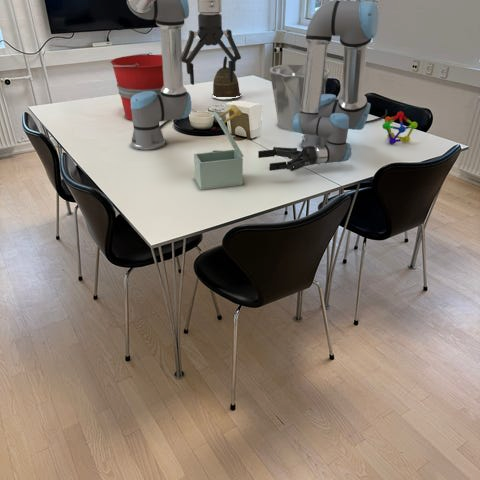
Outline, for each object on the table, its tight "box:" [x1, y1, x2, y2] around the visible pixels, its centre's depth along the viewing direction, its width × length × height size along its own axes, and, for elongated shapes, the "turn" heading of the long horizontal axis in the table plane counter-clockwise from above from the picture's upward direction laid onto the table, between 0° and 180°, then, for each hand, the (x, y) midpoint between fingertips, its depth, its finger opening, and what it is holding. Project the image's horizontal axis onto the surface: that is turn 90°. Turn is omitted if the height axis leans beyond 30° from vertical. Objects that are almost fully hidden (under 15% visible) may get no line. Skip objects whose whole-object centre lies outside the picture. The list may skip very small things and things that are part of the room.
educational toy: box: [382, 110, 418, 145], centre depth 207 cm, size 16×13×15 cm
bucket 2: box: [269, 63, 330, 131], centre depth 226 cm, size 30×30×28 cm
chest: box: [193, 149, 244, 191], centre depth 169 cm, size 16×10×11 cm, turn 107°
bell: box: [212, 55, 242, 97], centre depth 278 cm, size 19×26×20 cm
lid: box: [212, 104, 245, 158], centre depth 163 cm, size 17×10×8 cm
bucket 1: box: [107, 51, 164, 122], centre depth 239 cm, size 35×35×30 cm
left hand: (211, 82), depth 152 cm, fingers open, 13 cm apart
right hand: (263, 160), depth 173 cm, fingers open, 13 cm apart
